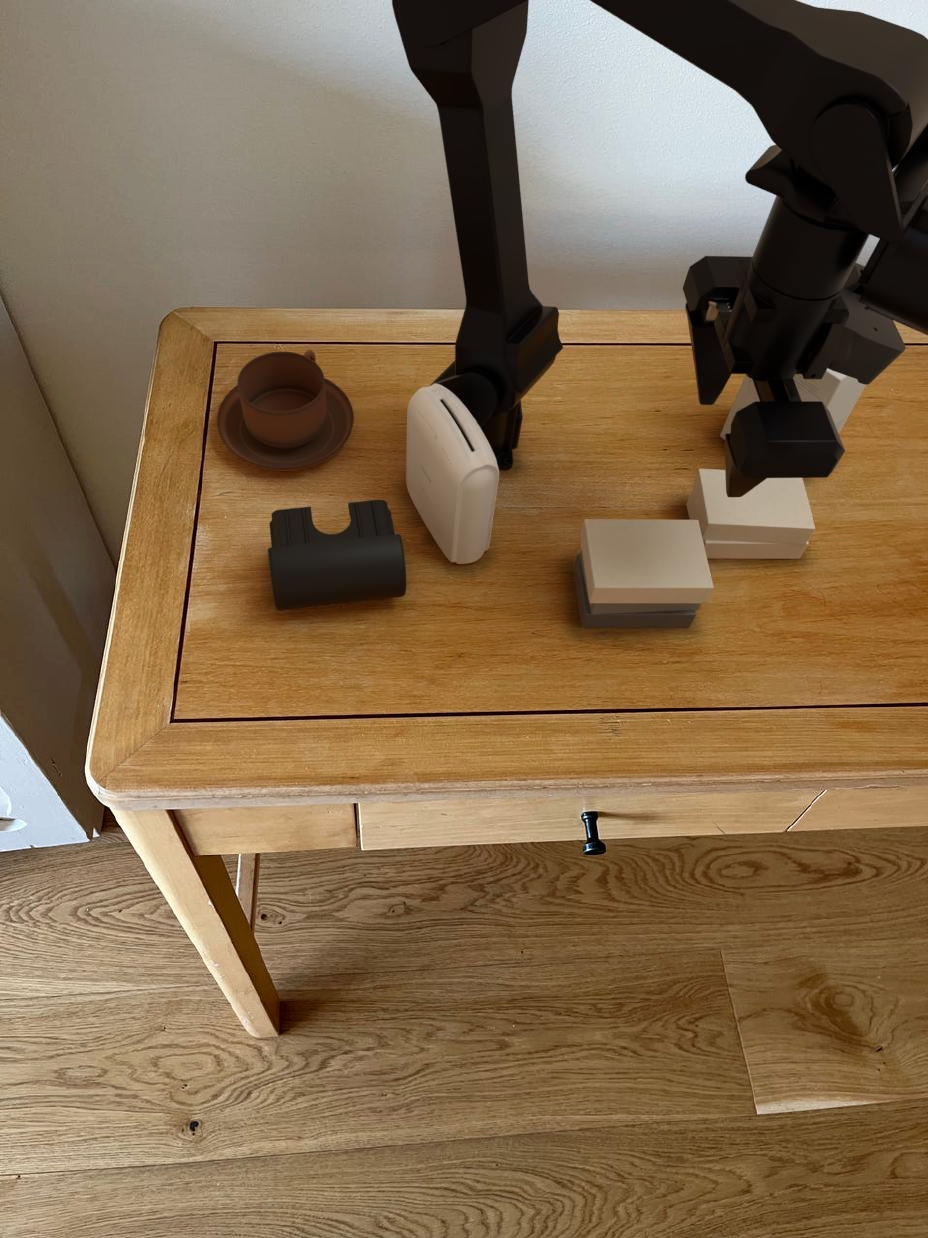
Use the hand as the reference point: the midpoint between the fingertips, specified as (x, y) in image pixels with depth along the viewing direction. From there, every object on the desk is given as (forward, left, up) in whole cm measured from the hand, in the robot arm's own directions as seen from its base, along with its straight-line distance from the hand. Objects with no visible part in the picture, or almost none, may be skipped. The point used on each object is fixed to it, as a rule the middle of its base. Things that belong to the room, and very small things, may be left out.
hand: (719, 447), depth 69 cm
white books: (+6, +2, -13) cm, 14 cm away
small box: (+11, +12, -13) cm, 21 cm away
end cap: (-29, -4, -13) cm, 32 cm away
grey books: (-5, -5, -13) cm, 14 cm away
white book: (-5, -5, -9) cm, 11 cm away
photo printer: (-20, +3, -13) cm, 24 cm away
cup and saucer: (-34, +13, -13) cm, 38 cm away
